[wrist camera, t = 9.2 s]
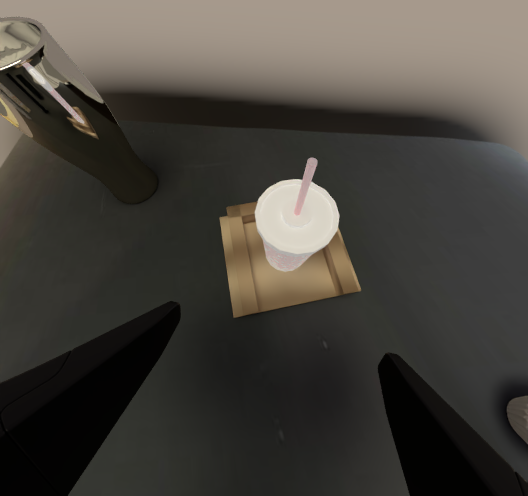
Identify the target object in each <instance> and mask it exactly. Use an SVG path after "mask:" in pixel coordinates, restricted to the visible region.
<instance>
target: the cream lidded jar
mask: <svg viewBox="0 0 528 496" xmlns="http://www.w3.org/2000/svg"><path fill="white" fill-rule="evenodd" d="M506 408H507V410H506V412H507V417H508V421H509V422H510V425H511V426H512V428H513V429H514V430H515V432H516V433H517V434H518V435H519V436H520V437H521V438H522V439H523V440H524V441H525V442H526V443H527V444H528V395H527V396H522V397H517V398H514V399H512V400H511V401H509V404H508V406H507V407H506Z"/></svg>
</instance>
